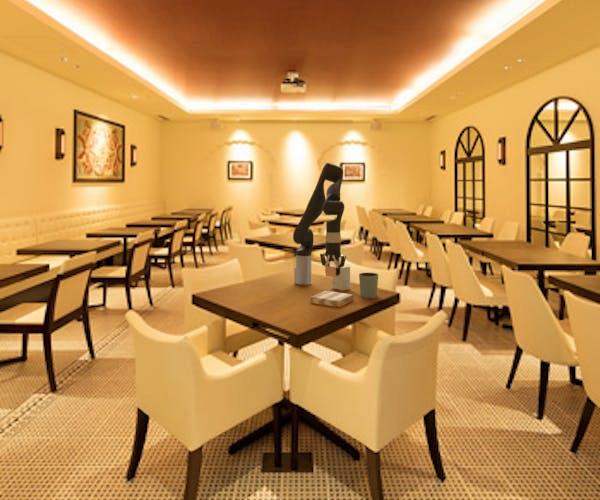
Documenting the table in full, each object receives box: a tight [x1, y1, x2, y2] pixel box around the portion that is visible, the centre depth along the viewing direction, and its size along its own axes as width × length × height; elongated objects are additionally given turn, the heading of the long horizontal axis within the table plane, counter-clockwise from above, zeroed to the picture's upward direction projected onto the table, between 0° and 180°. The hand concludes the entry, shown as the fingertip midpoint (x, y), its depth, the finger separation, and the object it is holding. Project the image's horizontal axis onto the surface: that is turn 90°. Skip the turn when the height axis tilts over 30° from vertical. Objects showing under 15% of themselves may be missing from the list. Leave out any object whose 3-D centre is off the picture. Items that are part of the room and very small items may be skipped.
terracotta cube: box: [325, 264, 339, 278], centre depth 234 cm, size 5×5×5 cm
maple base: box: [310, 290, 354, 308], centre depth 236 cm, size 16×16×3 cm
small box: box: [332, 265, 351, 291], centre depth 263 cm, size 8×6×13 cm
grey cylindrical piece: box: [358, 272, 379, 299], centre depth 246 cm, size 10×10×12 cm
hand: (332, 274), depth 234 cm, fingers closed on terracotta cube, 5 cm apart
